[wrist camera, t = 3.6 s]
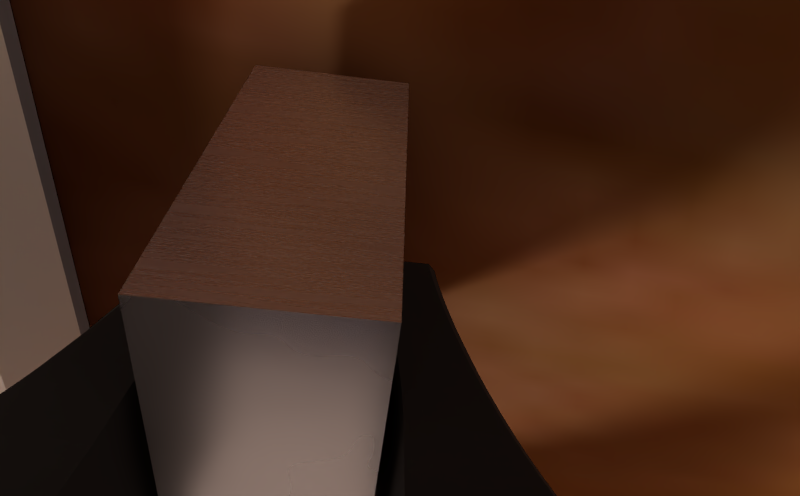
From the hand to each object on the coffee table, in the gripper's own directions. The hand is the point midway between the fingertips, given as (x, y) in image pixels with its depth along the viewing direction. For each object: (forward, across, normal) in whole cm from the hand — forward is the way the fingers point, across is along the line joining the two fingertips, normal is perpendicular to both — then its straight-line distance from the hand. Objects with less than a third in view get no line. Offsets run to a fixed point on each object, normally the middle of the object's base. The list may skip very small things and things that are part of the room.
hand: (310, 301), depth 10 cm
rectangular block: (+2, 0, 0) cm, 2 cm away
